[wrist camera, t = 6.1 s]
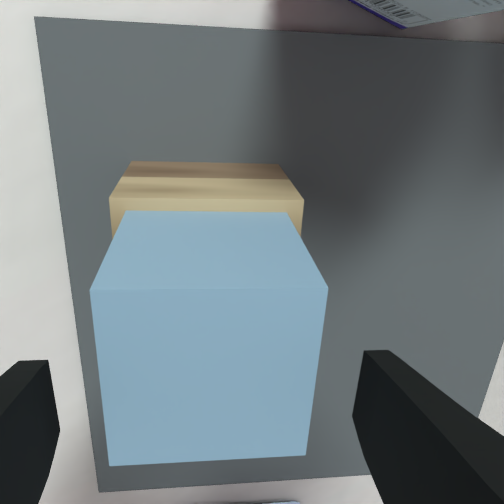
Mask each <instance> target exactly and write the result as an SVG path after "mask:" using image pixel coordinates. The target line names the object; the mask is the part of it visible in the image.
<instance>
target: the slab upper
mask: <svg viewBox="0 0 504 504" xmlns="http://www.w3.org/2000/svg"><path fill="white" fill-rule="evenodd" d="M109 205H110V217H111V228H112V239H113V238H114V235H115V233H116V231H117V229H118V227H119V225H120V222H121V220H122V218H123V216H124V214H125V211H126V210H128V211H211V212H287V214H288V216H289V217H290V219H291V221H292V223H293V225H294V226H295V228H296V230H297V232H298V234H299V235H300V237H301V227H302V217H303V207H304V199H303V198H302V196H301V195H300V194H299V192H298V191H297V189H296V188H295V187H294V185H293V184H292V182H291V181H290V180H289V179H231V178H171V177H121V179H120V180H119V182H118V184H117V185H116V187H115V189H114V190H113V192H112V193H111V195H110V197H109Z"/></svg>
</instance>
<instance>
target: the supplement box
mask: <svg viewBox="0 0 504 504" xmlns="http://www.w3.org/2000/svg"><path fill="white" fill-rule="evenodd" d="M349 1H351V2H353V3H354V4H356V5H358V6H360V7H362V8H363V9H365V10H367V11H369V12H371V13H372V14H374V15H376V16H378V17H380V18H381V19H383V20H385V21H387V22H389V23H391V24H393V25H395V26H396V27H398V28H400V29H405V28H408V27H414V26H419V25H424V24H429V23H434V22H440V21H446V20H451V19H457V18H462V17H468V16H474V15H479V14H484V13H490V12H495V11H501V10H504V0H349Z"/></svg>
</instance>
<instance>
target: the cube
mask: <svg viewBox="0 0 504 504" xmlns="http://www.w3.org/2000/svg"><path fill="white" fill-rule="evenodd" d="M327 295H328V286H327V284H326V282H325V281H324V279H323V277H322V275H321V273H320V272H319V270H318V268H317V266H316V264H315V263H314V261H313V259H312V257H311V255H310V254H309V252H308V250H307V248H306V246H305V244H304V243H303V241H302V239H301V237H300V235H299V234H298V232H297V230H296V228H295V226H294V225H293V223H292V221H291V219H290V217H289V216H288V214H287V212H211V211H128V210H126V211H125V214H124V216H123V218H122V220H121V222H120V225H119V227H118V229H117V231H116V233H115V235H114V238H113V240H112V242H111V244H110V246H109V249H108V251H107V253H106V255H105V257H104V260H103V262H102V264H101V266H100V268H99V270H98V273H97V275H96V277H95V279H94V281H93V284H92V286H91V288H90V299H91V307H92V316H93V325H94V334H95V343H96V352H97V361H98V370H99V379H100V388H101V397H102V406H103V414H104V423H105V432H106V441H107V450H108V459H109V466H123V465H141V464H158V463H176V462H194V461H212V460H230V459H248V458H266V457H284V456H302V455H306V449H307V441H308V434H309V427H310V419H311V412H312V405H313V397H314V390H315V383H316V375H317V368H318V361H319V354H320V346H321V339H322V332H323V324H324V317H325V310H326V302H327Z"/></svg>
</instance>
